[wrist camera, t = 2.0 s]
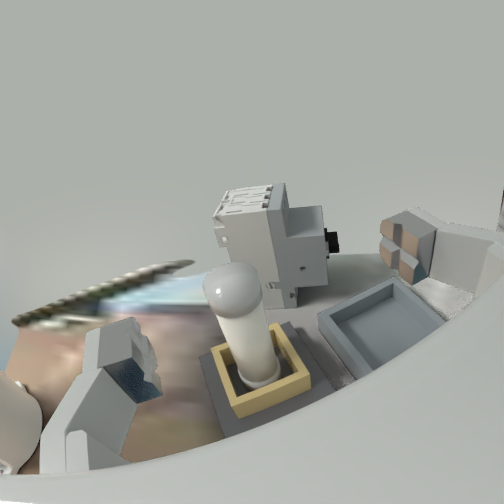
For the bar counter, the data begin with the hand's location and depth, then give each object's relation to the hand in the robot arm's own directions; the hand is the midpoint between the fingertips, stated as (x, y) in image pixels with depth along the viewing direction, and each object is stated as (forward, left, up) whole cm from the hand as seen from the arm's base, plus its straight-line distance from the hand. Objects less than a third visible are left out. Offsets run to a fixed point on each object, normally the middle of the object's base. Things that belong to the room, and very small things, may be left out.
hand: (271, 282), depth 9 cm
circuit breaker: (+9, +25, -24) cm, 36 cm away
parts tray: (+15, +9, -24) cm, 30 cm away
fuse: (0, +12, -22) cm, 25 cm away
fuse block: (0, +12, -24) cm, 27 cm away
